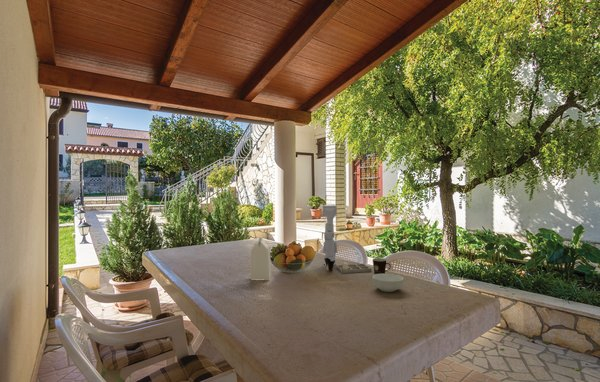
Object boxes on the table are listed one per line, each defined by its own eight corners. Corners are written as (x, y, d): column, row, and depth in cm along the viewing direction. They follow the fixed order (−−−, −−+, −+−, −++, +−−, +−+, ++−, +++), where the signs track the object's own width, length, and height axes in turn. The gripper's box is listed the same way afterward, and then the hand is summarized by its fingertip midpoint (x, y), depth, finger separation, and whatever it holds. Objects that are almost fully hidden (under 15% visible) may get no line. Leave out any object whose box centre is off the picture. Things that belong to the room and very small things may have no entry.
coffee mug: (370, 274, 214) (370, 258, 214) (381, 273, 217) (381, 257, 217) (379, 278, 203) (379, 262, 203) (392, 277, 206) (391, 261, 206)
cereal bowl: (405, 295, 171) (405, 281, 171) (372, 293, 174) (372, 280, 174) (402, 286, 188) (401, 273, 188) (372, 284, 191) (371, 272, 191)
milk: (269, 280, 203) (268, 238, 202) (250, 280, 203) (249, 238, 203) (271, 275, 215) (270, 235, 214) (253, 275, 215) (253, 235, 215)
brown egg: (325, 271, 224) (325, 262, 224) (332, 270, 225) (331, 262, 225) (327, 272, 220) (327, 263, 220) (333, 272, 220) (333, 263, 220)
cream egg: (341, 270, 220) (341, 261, 220) (347, 270, 221) (347, 261, 221) (343, 272, 216) (343, 263, 216) (349, 272, 217) (349, 263, 217)
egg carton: (336, 269, 228) (336, 265, 228) (364, 268, 231) (363, 263, 231) (342, 274, 214) (342, 270, 214) (371, 273, 218) (371, 268, 218)
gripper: (321, 247, 229) (321, 267, 229) (326, 251, 214) (326, 272, 214) (331, 247, 230) (331, 267, 230) (336, 251, 215) (337, 272, 215)
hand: (329, 269), depth 222 cm, fingers closed on brown egg, 4 cm apart
